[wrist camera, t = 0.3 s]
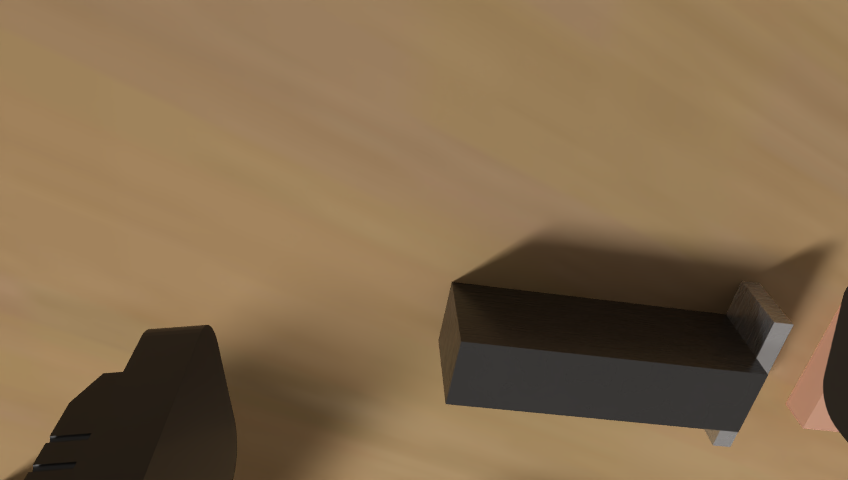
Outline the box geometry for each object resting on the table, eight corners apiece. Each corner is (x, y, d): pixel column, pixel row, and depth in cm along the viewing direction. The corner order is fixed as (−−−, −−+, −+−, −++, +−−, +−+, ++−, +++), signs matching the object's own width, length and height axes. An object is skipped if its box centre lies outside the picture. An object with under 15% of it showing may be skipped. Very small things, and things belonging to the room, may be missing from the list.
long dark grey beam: (460, 244, 29) (470, 301, 25) (758, 281, 31) (806, 340, 27) (431, 370, 32) (437, 437, 29) (703, 398, 34) (740, 464, 30)
